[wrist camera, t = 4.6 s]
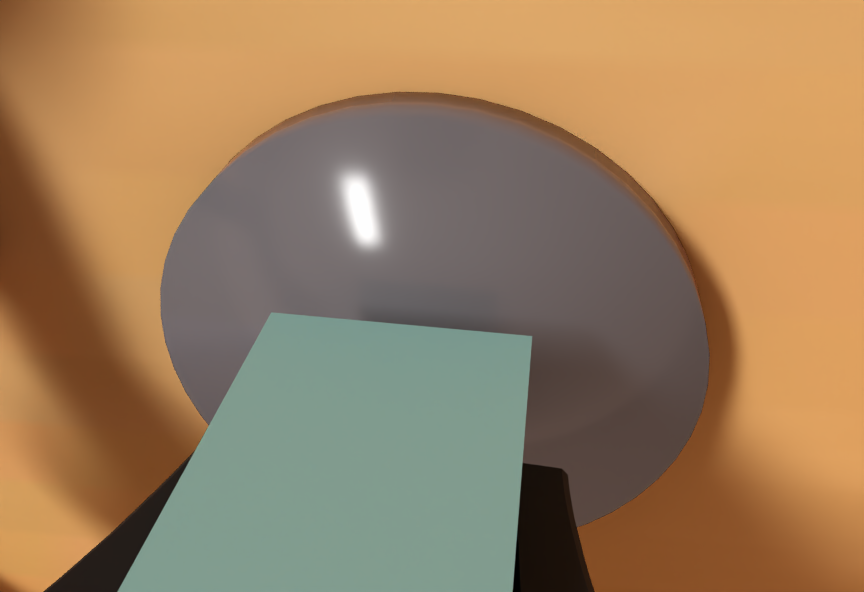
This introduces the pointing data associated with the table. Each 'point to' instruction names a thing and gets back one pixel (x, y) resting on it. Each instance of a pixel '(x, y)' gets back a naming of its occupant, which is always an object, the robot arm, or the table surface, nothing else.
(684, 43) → the table surface
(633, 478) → the dish
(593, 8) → the table surface
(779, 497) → the table surface
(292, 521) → the block
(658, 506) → the table surface
